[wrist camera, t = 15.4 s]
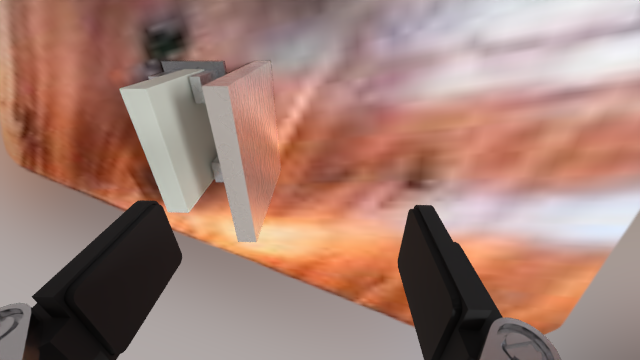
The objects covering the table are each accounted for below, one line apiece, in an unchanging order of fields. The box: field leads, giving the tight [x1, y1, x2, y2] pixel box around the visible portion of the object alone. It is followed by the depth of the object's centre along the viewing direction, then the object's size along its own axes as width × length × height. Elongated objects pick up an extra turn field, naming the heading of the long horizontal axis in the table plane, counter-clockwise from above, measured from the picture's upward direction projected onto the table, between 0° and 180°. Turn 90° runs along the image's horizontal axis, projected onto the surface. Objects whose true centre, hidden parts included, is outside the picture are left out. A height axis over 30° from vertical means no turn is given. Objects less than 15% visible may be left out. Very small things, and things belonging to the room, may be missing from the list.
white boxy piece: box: [148, 61, 281, 242], centre depth 30 cm, size 16×14×16 cm
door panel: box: [119, 69, 218, 213], centre depth 31 cm, size 14×2×12 cm, turn 0°
